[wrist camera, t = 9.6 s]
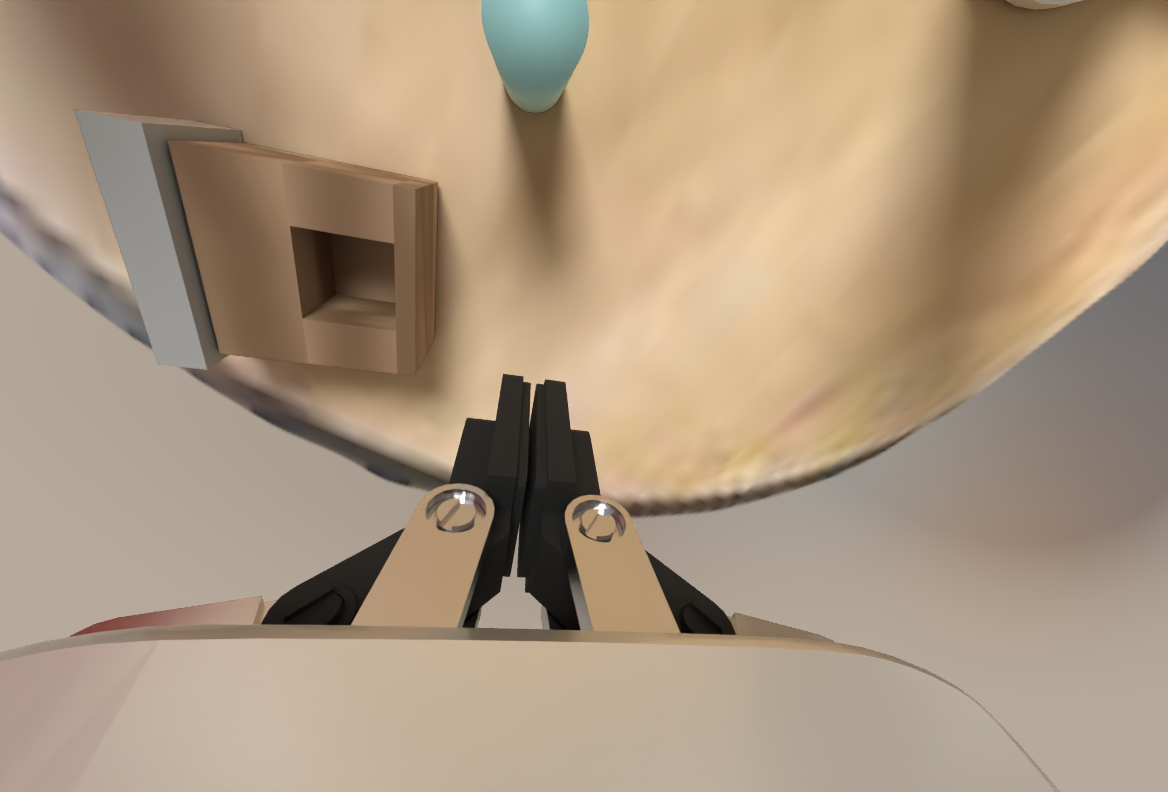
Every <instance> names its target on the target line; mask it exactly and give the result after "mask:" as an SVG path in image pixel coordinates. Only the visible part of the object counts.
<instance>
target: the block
mask: <svg viewBox="0 0 1168 792" xmlns="http://www.w3.org/2000/svg"><path fill="white" fill-rule="evenodd" d="M168 144H169V148H170V152H171V156H172V160H173V164H174V169H175V173H176V177H177V181H178V185H179V189H180V193H181V197H182V201H183V205H184V209H185V213H186V217H187V221H188V225H189V230H190V234H191V238H192V242H193V246H194V250H195V254H196V258H197V262H198V266H199V270H200V274H201V278H202V282H203V286H204V290H205V295H206V299H207V303H208V307H209V311H210V315H211V319H212V323H213V327H214V331H215V335H216V339H217V343H218V347H219V351H220V354H228V355H236V356H245V357H254V358H262V359H271V360H280V361H288V362H297V363H305V364H314V365H323V366H331V367H340V368H349V369H357V370H366V371H374V372H383V373H392V374H400V375H409V376H416V374H417V372H418V370H419V368H420V366H421V364H422V362H423V360H424V358H425V356H426V354H427V352H428V350H429V348H430V347H431V345H432V343H433V341H434V321H435V278H436V235H437V192H438V182H436V181H431V180H426V179H421V178H416V177H411V176H406V175H401V174H396V173H391V172H386V171H381V170H376V169H371V168H366V167H361V166H356V165H352V164H347V163H342V162H337V161H332V160H327V159H322V158H317V157H312V156H307V155H302V154H297V153H292V152H287V151H282V150H277V149H272V148H268V147H263V146H258V145H253V144H248V143H234V142H204V141H173V140H168Z"/></svg>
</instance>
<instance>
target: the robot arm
mask: <svg viewBox="0 0 1168 792" xmlns="http://www.w3.org/2000/svg"><path fill="white" fill-rule="evenodd" d="M1006 1H1008V2H1009V3H1011V4H1013V5H1014V6H1018V7H1024V8H1029V9H1034V10H1038V9H1048V8H1058V7H1061V6H1065V5H1068V4H1072V3H1075V2H1079V1H1083V0H1006ZM530 388H531V383H528V382H523V376H515V375H508V374H503V378H502V384H501V391H500V397H499V403H498V410H497V416H496V421H491V420H482V419H473V418H467V419H466V422H465V426H464V430H463V433H462V437H461V441H460V445H459V448H458V452H457V456H456V460H455V464H454V467H453V471H452V475H451V479H450V482H449V484H448V485H444V486H441V487H438V488H435V489H433V490H432V491H431V492H429V493H428V494H426V495H425V496H424V498H423V499H422V500H421V501H420V502H419V504H418V506H417V508H416V509H415V511H414V513H413V515H412V517H411V518H410V520H409V522H408V524H407V526H406V527H405V528H404V529H402V530H400V531H398V532H396V533H394V534H392V535H391V536H389V537H387V538H385V539H383V540H381V541H380V542H378V543H376V544H374V545H372V546H370V547H368V548H366V549H365V550H363V551H361V552H359V553H357V554H355V555H354V556H352V557H350V558H348V559H346V560H344V561H342V562H340V563H339V564H337V565H335V566H333V567H331V568H329V569H328V570H326V571H324V572H322V573H320V574H318V575H316V576H315V577H313V578H311V579H309V580H307V581H305V582H303V583H301V584H300V585H298V586H296V587H295V588H293V589H291V590H290V591H289V592H287V593H286V594H284V595H283V596H281V597H280V598H279V599H278V600H274V601H268V602H263V599H262V596H258V597H251V598H245V599H238V600H231V601H225V602H218V603H212V604H205V605H198V606H192V607H185V608H179V609H172V610H166V611H159V612H153V613H146V614H140V615H132V616H126V617H119V618H115V619H112V620H108V621H104V622H100V623H96V624H94V625H92V626H90V627H88V628H86V629H84V630H82V631H79V632H77V633H75V634H73V635H71V636H70V637H66V638H61V639H56V640H50V641H44V642H39V643H35V644H31V645H27V646H24V647H20V648H16V649H12V650H8V651H4V652H0V792H1060V791H1059V790H1058V789H1057V787H1056V786H1055V785H1054V784H1053V782H1051V780H1050V779H1049V778H1048V777H1047V776H1046V774H1045V773H1044V772H1043V771H1042V770H1041V769H1040V768H1039V766H1038V765H1037V764H1036V763H1035V762H1034V761H1033V759H1032V758H1031V757H1030V756H1029V755H1028V754H1027V753H1026V751H1025V750H1024V749H1023V748H1022V747H1021V746H1020V745H1019V743H1018V742H1017V741H1016V740H1015V739H1014V738H1013V737H1012V736H1011V735H1010V734H1009V733H1008V732H1007V730H1006V729H1005V728H1004V727H1003V726H1001V724H1000V723H999V722H998V721H997V720H996V719H995V718H994V717H993V716H992V715H991V714H990V713H989V712H988V711H987V710H986V709H985V708H983V707H982V706H981V705H980V704H979V703H978V702H977V701H976V700H974V699H973V698H972V697H970V696H969V695H968V694H966V693H965V692H964V691H962V690H961V689H960V688H958V687H957V686H955V685H953V684H951V683H950V682H948V681H946V680H944V679H943V678H941V677H939V676H937V675H935V674H933V673H931V672H929V671H927V670H925V669H923V668H920V667H918V666H915V665H913V664H911V663H908V662H906V661H903V660H900V659H898V658H896V657H893V656H890V655H887V654H883V653H880V652H876V651H873V650H869V649H866V648H862V647H857V646H852V645H846V644H841V643H836V642H834V641H833V640H830V639H828V638H826V637H823V636H821V635H818V634H814V633H810V632H806V631H803V630H799V629H795V628H792V627H787V626H784V625H780V624H777V623H773V622H769V621H765V620H762V619H758V618H754V617H750V616H747V615H743V614H739V613H734V614H733V616H732V617H729V616H726V614H725V613H724V611H723V610H721V609H720V608H719V607H718V606H717V605H716V604H715V603H714V602H713V601H711V600H710V599H709V598H707V597H706V596H705V595H703V594H702V593H701V592H700V591H698V590H697V589H696V588H694V587H693V586H691V585H690V584H689V583H688V582H686V581H685V580H684V579H682V578H681V577H680V576H679V575H677V574H676V573H674V572H673V571H672V570H671V569H669V568H668V567H667V566H665V565H664V564H663V563H661V562H660V561H659V560H658V559H656V558H655V557H654V556H652V555H651V554H650V553H648V552H647V551H646V550H645V549H644V547H643V544H642V542H641V540H640V537H639V535H638V533H637V531H636V528H635V526H634V523H633V521H632V519H631V517H630V515H629V514H628V512H627V511H626V510H625V509H624V508H623V507H622V506H621V505H620V504H619V503H617V502H615V501H613V500H612V499H610V498H606V497H603V496H601V495H600V489H599V484H598V478H597V472H596V466H595V461H594V455H593V449H592V444H591V438H590V434H589V432H588V431H580V430H571V429H570V420H569V411H568V401H567V392H566V384H565V382H560V381H553V380H545V382H544V385H543V384H537V385H536V390H535V396H534V402H533V408H532V414H531V420H530V426H529V416H530ZM519 523H520V529H519ZM518 529H519V548H518V568H517V577H526V581H525V592H527V593H530V594H531V595H532V596H534V598H536V600H538V601H539V602H540V603H541V604H542V607H541V618H542V625H543V630H541V629H540V630H539V629H498V628H496V629H495V628H477V626H478V622H479V619H480V616H481V608H482V606H483V605H484V604H485V603H487V602H488V601H489V600H490V599H491V598H493V597H494V596H495V595H497V594H498V593H499V592H500V589H501V583H502V577H503V576H506V577H510V574H511V568H512V563H513V556H514V551H515V546H516V540H517V534H518Z"/></svg>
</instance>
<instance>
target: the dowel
mask: <svg viewBox="0 0 1168 792" xmlns="http://www.w3.org/2000/svg"><path fill="white" fill-rule="evenodd" d="M482 23H483V28H484V33H485V36H486V40H487V43H488V45H489V48H490V50H491V53H492V55H493V58H494V61H495V63H496V66H497V68H498V71H499V73H500V76H501V78H502V81H503V84H504V86H505V89H506V91H507V93H508V95H509V97H510V98H511V100H512V101H513V102H514V103H515V104H516V105H517V106H518V107H519V108H521V109H522V110H525V111H527V112H530V113H541V112H544V111H547V110H549V109H550V108H551V107H553V106H554V105H555V104H556V102H557V101H558V99H559V98H560V96H561V94H562V92H563V90H564V88H565V86H566V85H567V83H568V81H569V79H570V77H571V75H572V73H573V71H574V69H575V68H576V66H577V64H578V62H579V60H580V58H581V56H582V54H583V51H584V48H585V45H586V41H587V37H588V28H589V14H588V6H587V1H586V0H482Z"/></svg>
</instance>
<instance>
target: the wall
mask: <svg viewBox="0 0 1168 792" xmlns="http://www.w3.org/2000/svg"><path fill="white" fill-rule="evenodd" d="M74 111H75V114H76V117H77V120H78V123H79V126H80V129H81V132H82V135H83V138H84V141H85V145H86V148H87V151H88V154H89V157H90V160H91V163H92V166H93V169H94V172H95V175H96V178H97V181H98V184H99V187H100V190H101V193H102V196H103V199H104V202H105V205H106V208H107V211H108V214H109V217H110V221H111V224H112V227H113V230H114V233H115V236H116V239H117V242H118V245H119V248H120V251H121V254H122V257H123V260H124V263H125V266H126V269H127V272H128V275H129V278H130V281H131V284H132V287H133V290H134V294H135V297H136V300H137V303H138V306H139V309H140V312H141V315H142V318H143V321H144V324H145V327H146V330H147V333H148V336H149V339H150V342H151V345H152V348H153V351H154V354H155V357H156V360H157V363H158V364H161V365H169V366H178V367H187V368H197V369H206V370H207V369H209V368H210V367H212V366H213V365H215V364H216V363H218V362H219V361H221V360H222V359H224V358H225V357H227V356H228V354H220V351H219V347H218V343H217V339H216V335H215V331H214V327H213V323H212V319H211V315H210V311H209V307H208V303H207V299H206V295H205V290H204V286H203V282H202V278H201V274H200V270H199V266H198V262H197V258H196V254H195V250H194V246H193V242H192V238H191V234H190V230H189V225H188V221H187V217H186V213H185V209H184V205H183V201H182V197H181V193H180V189H179V185H178V181H177V177H176V173H175V169H174V164H173V160H172V156H171V152H170V148H169V144H168V140H173V141H204V142H234V143H243V141H242V135H241V130H237V129H233V128H228V127H223V126H218V125H213V124H208V123H204V122H199V121H194V120H185V119H174V118H164V117H153V116H142V115H132V114H121V113H111V112H100V111H89V110H79V109H74Z"/></svg>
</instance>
